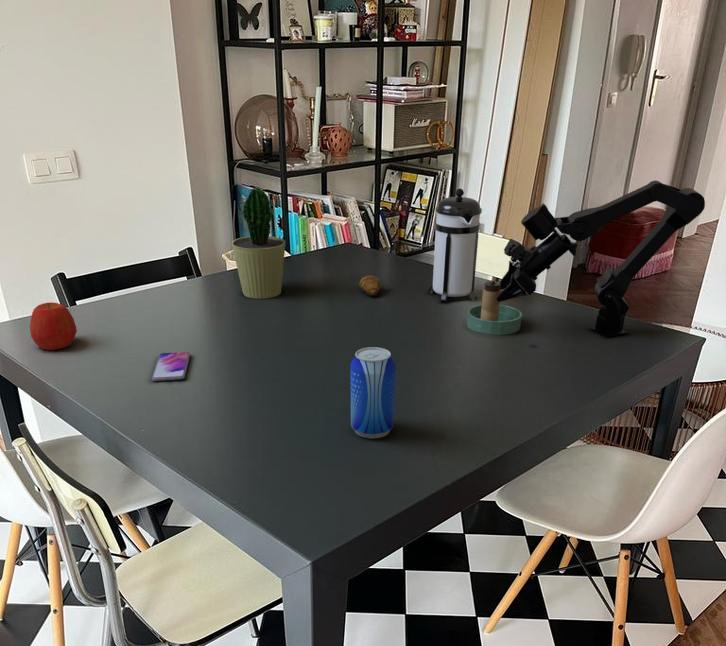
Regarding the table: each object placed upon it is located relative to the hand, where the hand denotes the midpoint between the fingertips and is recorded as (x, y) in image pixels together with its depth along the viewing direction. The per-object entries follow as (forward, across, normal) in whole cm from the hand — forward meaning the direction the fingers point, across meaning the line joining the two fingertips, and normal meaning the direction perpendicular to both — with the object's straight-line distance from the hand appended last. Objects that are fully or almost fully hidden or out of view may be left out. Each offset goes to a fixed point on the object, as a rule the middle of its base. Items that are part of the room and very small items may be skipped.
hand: (496, 295), depth 189 cm
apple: (+83, +28, -70) cm, 112 cm away
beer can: (+24, +63, -12) cm, 68 cm away
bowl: (+6, 0, +6) cm, 9 cm away
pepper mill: (+7, 0, +5) cm, 8 cm away
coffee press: (+15, -26, -2) cm, 30 cm away
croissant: (+32, -26, -19) cm, 45 cm away
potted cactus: (+54, -20, -41) cm, 71 cm away
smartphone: (+59, +38, -46) cm, 84 cm away
